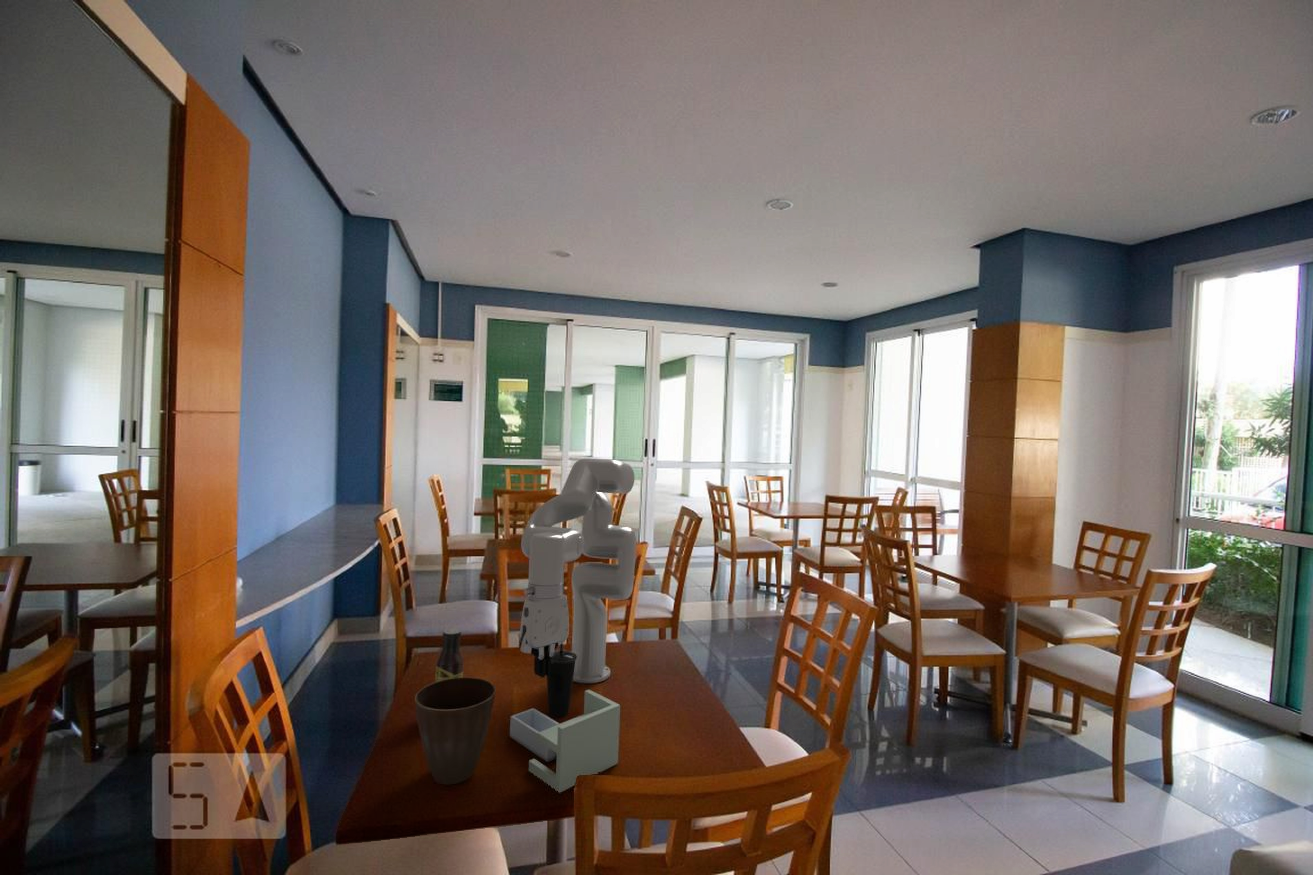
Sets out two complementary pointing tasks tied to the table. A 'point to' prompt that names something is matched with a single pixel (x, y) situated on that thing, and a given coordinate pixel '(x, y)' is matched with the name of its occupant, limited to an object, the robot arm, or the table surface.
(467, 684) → the plant pot
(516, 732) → the tray
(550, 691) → the drinking cup
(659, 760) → the table surface
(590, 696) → the shelf slot
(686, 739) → the table surface
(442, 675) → the sauce bottle
